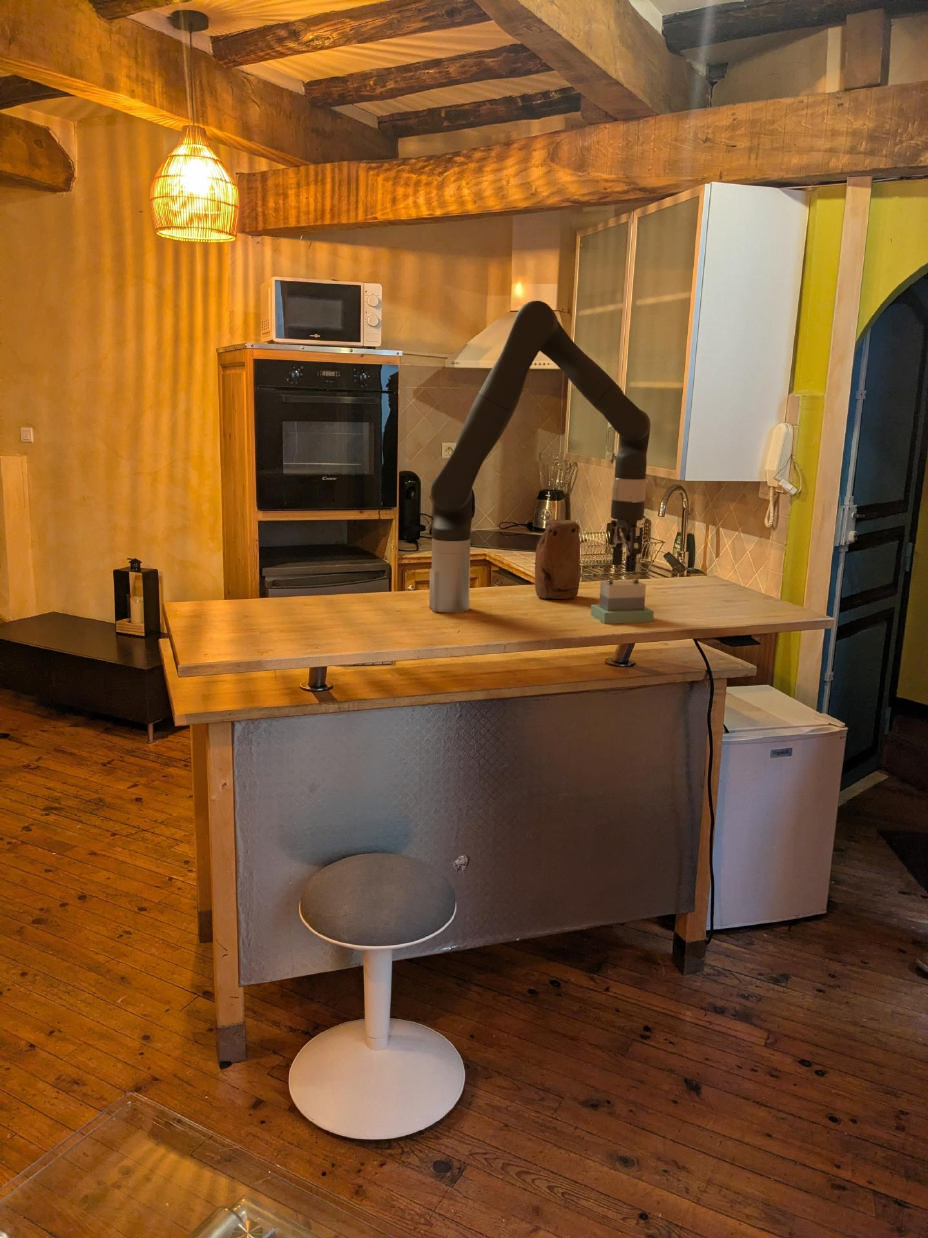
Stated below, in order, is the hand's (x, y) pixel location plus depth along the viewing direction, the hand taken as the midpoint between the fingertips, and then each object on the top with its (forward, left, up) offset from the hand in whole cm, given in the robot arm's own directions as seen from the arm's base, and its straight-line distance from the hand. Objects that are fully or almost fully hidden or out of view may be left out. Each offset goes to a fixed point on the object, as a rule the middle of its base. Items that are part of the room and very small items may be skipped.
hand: (623, 568), depth 220 cm
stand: (0, 0, -12) cm, 12 cm away
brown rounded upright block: (-8, +26, -12) cm, 29 cm away
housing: (0, 0, -10) cm, 10 cm away
